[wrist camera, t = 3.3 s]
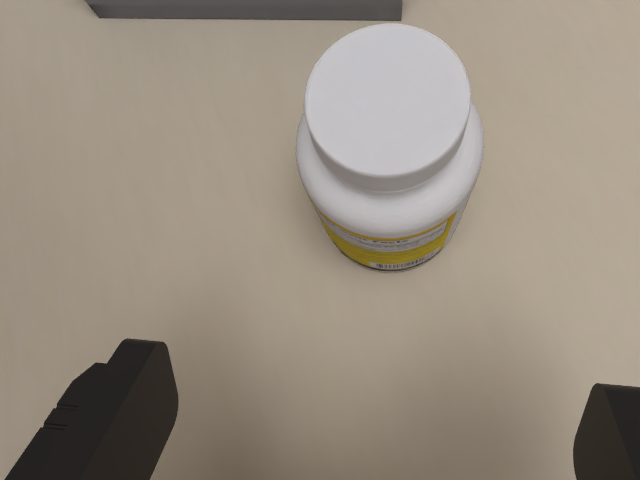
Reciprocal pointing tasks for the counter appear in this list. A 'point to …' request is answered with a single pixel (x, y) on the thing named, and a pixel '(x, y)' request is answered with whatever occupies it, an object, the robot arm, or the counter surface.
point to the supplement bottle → (389, 145)
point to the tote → (250, 9)
